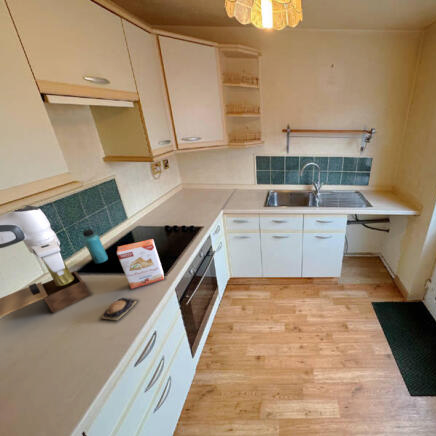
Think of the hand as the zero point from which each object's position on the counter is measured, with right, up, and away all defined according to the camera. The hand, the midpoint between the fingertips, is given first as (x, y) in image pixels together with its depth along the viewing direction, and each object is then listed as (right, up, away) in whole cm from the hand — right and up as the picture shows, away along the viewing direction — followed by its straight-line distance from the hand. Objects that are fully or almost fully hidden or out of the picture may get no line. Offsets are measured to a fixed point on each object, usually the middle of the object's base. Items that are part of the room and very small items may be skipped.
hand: (59, 271), depth 97 cm
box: (-1, -13, +5) cm, 14 cm away
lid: (-8, -9, -7) cm, 14 cm away
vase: (0, -5, +3) cm, 6 cm away
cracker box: (+29, -8, +14) cm, 34 cm away
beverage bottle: (-5, -2, +28) cm, 29 cm away
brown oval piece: (+27, -16, -2) cm, 32 cm away
